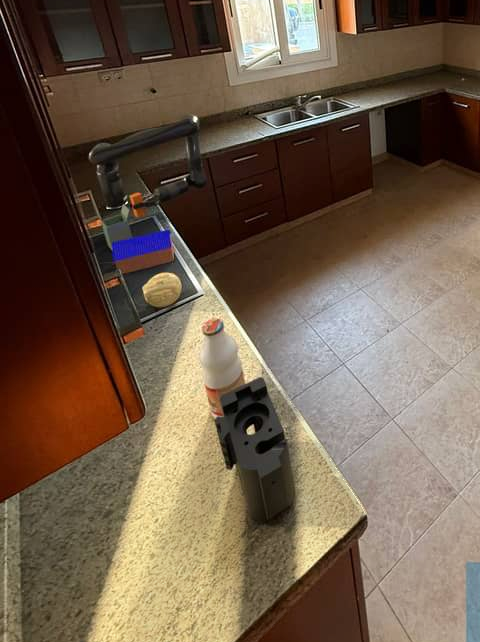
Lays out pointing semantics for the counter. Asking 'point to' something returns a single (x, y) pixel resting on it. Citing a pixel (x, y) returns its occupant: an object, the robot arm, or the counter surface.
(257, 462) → the black machined bracket
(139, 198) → the packet
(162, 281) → the tan round lump
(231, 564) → the counter surface
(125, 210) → the flap
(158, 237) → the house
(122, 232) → the chute
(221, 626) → the counter surface
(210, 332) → the fruit juice
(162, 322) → the counter surface
